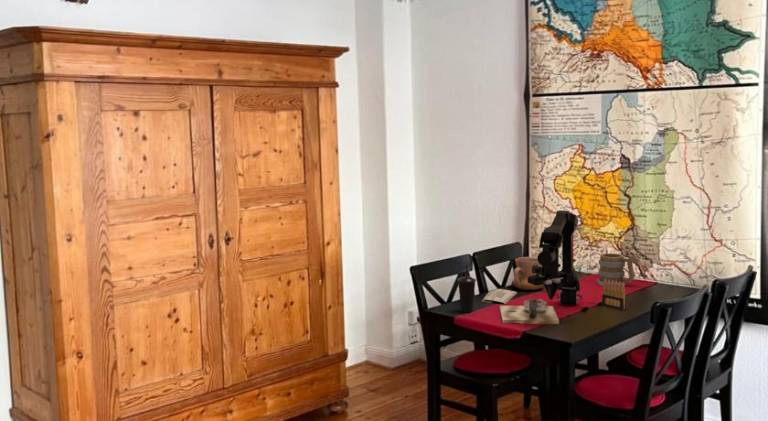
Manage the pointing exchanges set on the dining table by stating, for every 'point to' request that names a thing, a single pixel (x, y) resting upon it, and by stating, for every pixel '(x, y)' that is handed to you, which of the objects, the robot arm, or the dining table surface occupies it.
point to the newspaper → (499, 296)
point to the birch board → (527, 315)
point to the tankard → (615, 268)
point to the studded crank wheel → (534, 307)
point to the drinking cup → (466, 292)
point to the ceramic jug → (525, 273)
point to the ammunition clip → (614, 295)
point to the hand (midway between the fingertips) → (550, 299)
